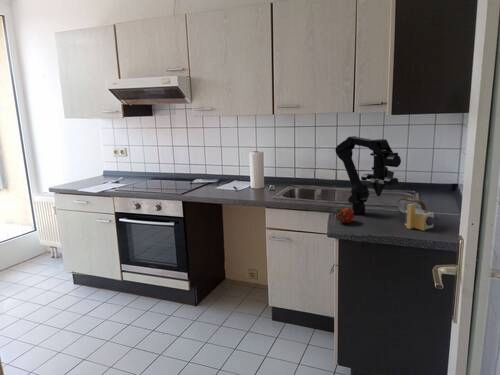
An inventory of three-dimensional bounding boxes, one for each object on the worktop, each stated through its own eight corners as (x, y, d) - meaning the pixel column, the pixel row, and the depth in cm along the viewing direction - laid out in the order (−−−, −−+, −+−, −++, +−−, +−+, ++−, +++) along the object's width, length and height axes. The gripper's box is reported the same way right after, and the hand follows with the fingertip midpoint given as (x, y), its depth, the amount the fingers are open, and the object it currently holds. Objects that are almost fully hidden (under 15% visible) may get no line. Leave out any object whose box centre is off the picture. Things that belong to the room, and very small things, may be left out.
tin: (425, 217, 196) (426, 200, 194) (422, 218, 194) (423, 201, 192) (399, 211, 208) (400, 196, 206) (396, 212, 206) (396, 197, 204)
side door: (406, 227, 179) (407, 204, 177) (411, 226, 181) (412, 203, 178) (420, 231, 173) (421, 207, 171) (425, 230, 174) (426, 206, 172)
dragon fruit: (337, 228, 188) (349, 226, 197) (350, 220, 183) (362, 218, 192) (329, 213, 191) (341, 211, 199) (342, 204, 186) (354, 203, 194)
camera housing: (404, 224, 184) (405, 209, 183) (414, 222, 188) (415, 207, 186) (425, 230, 175) (426, 214, 173) (435, 227, 178) (436, 211, 177)
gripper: (406, 165, 186) (405, 197, 189) (376, 161, 201) (375, 191, 204) (390, 167, 180) (389, 200, 183) (360, 163, 196) (360, 193, 199)
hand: (378, 196), depth 193 cm, fingers closed
